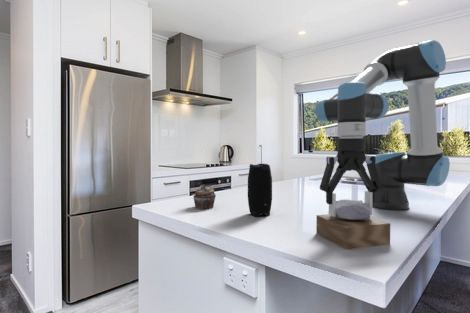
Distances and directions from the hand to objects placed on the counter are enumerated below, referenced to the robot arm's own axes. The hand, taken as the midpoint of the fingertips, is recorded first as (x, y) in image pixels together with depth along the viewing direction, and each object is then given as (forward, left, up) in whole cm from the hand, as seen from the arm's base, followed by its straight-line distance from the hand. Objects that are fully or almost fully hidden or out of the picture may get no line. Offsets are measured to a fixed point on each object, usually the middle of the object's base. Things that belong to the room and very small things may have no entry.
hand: (350, 214), depth 84 cm
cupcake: (+41, -47, -7) cm, 63 cm away
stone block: (0, -2, -1) cm, 2 cm away
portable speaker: (+20, -31, -7) cm, 38 cm away
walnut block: (0, +1, -7) cm, 7 cm away
